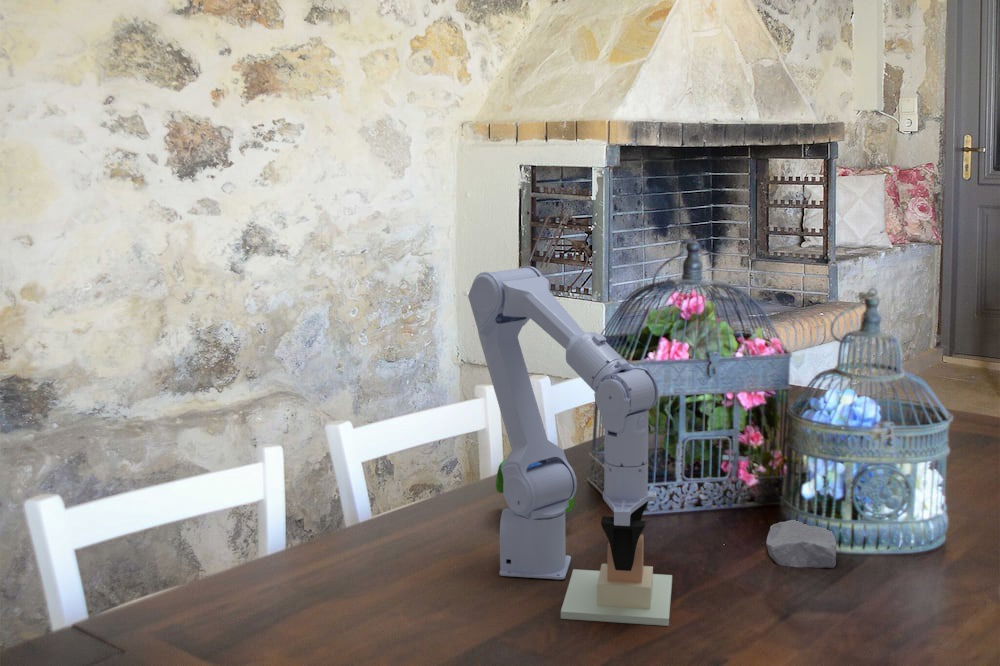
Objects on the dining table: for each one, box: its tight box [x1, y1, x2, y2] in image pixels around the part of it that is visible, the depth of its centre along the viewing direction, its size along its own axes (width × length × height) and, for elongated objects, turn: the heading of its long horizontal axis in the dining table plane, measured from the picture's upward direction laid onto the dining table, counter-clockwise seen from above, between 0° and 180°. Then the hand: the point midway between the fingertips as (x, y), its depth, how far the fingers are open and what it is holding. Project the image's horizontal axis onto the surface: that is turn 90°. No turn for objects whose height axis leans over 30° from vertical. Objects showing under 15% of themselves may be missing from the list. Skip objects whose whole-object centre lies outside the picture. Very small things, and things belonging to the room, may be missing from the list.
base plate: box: [560, 563, 673, 627], centre depth 147 cm, size 14×14×4 cm
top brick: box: [606, 534, 645, 583], centre depth 145 cm, size 4×4×5 cm
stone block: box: [765, 519, 837, 569], centre depth 163 cm, size 12×5×10 cm
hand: (625, 558), depth 145 cm, fingers open, 7 cm apart
